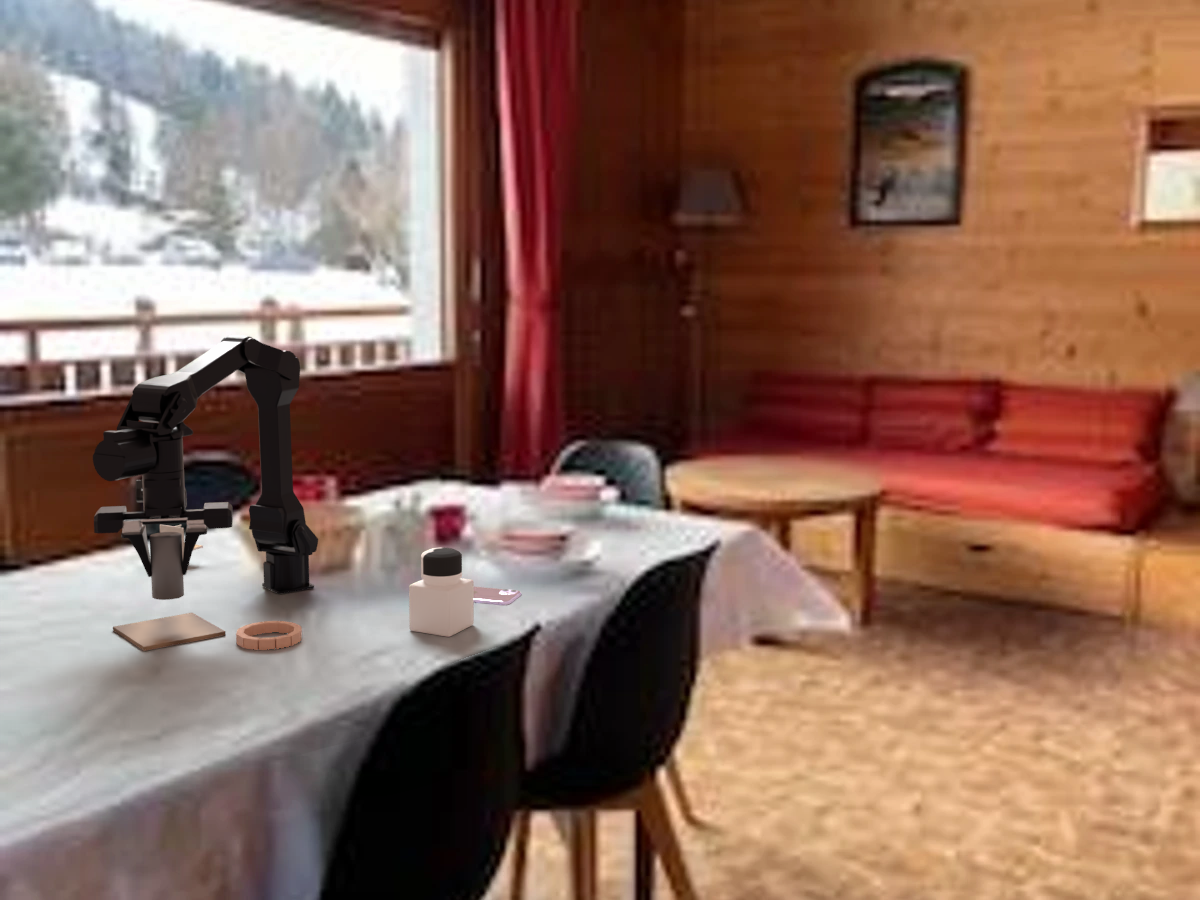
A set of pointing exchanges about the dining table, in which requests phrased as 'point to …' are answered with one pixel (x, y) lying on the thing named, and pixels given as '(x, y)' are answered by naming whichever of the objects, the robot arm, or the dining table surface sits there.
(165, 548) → the cylinder
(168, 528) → the architectural model
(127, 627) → the coaster
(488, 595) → the mobile phone
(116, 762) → the dining table surface
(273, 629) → the orange segmented ring
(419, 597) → the medicine bottle
